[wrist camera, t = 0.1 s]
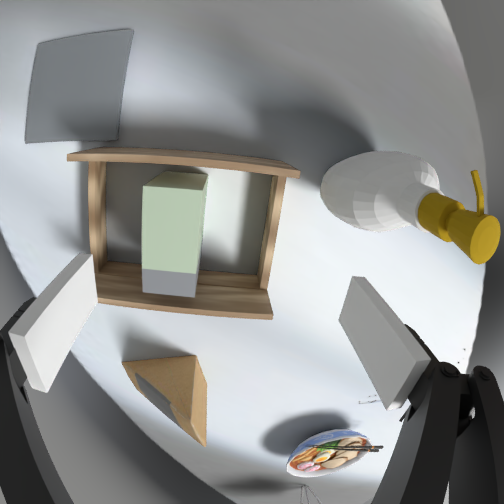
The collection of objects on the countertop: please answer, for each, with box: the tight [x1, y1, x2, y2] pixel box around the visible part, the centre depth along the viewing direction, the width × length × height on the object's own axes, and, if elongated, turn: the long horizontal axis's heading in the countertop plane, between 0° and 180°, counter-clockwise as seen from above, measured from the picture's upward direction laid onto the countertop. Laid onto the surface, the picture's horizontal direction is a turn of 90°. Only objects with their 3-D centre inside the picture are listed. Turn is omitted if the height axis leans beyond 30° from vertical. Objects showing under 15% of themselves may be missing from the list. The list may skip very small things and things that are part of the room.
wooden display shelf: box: [67, 147, 301, 320], centre depth 36 cm, size 18×25×10 cm
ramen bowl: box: [286, 429, 383, 477], centre depth 62 cm, size 25×23×8 cm
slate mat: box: [25, 29, 134, 144], centre depth 31 cm, size 16×16×1 cm
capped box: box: [142, 171, 208, 298], centre depth 35 cm, size 12×6×11 cm, turn 172°
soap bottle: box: [320, 151, 500, 264], centre depth 28 cm, size 14×9×26 cm, turn 107°
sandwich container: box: [122, 355, 207, 447], centre depth 45 cm, size 9×15×15 cm, turn 99°
